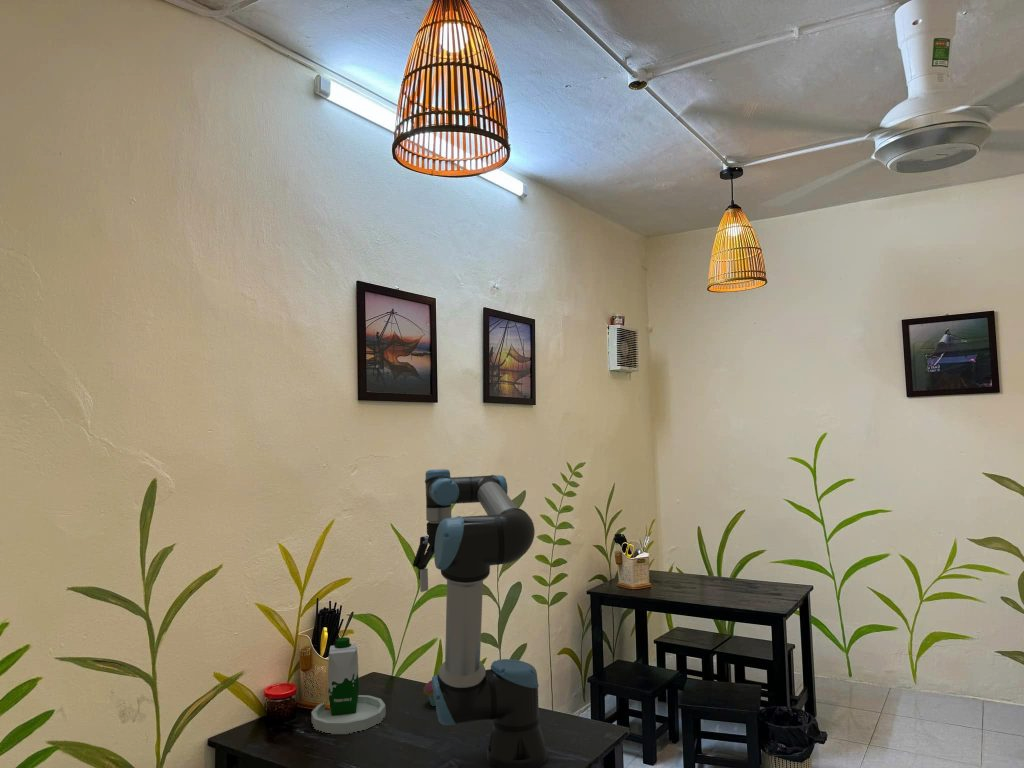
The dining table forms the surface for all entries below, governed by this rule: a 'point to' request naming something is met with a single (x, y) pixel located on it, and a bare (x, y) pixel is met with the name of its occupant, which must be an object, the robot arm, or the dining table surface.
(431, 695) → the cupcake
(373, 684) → the dining table surface
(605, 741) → the dining table surface
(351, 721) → the round tray
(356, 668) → the soya milk
